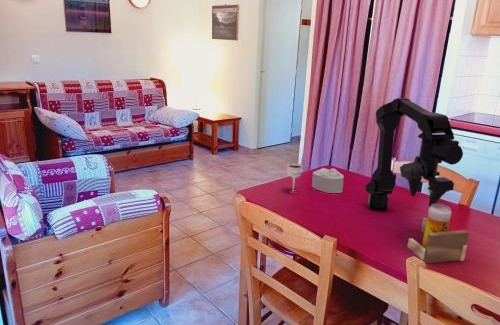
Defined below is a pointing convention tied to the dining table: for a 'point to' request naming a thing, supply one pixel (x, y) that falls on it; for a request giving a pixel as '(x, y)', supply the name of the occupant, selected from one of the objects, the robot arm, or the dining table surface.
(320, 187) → the grey lumpy block
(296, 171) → the wineglass
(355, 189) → the dining table surface
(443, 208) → the beer can
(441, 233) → the shelf
